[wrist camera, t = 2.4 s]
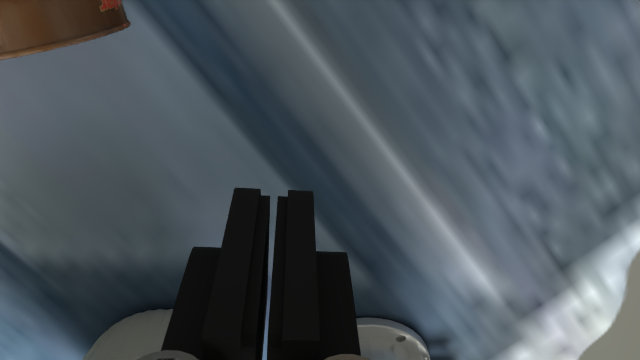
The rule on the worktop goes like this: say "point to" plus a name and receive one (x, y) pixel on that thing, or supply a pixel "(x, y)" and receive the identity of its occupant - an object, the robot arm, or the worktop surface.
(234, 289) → the robot arm
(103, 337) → the canister
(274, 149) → the worktop surface
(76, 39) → the tin
